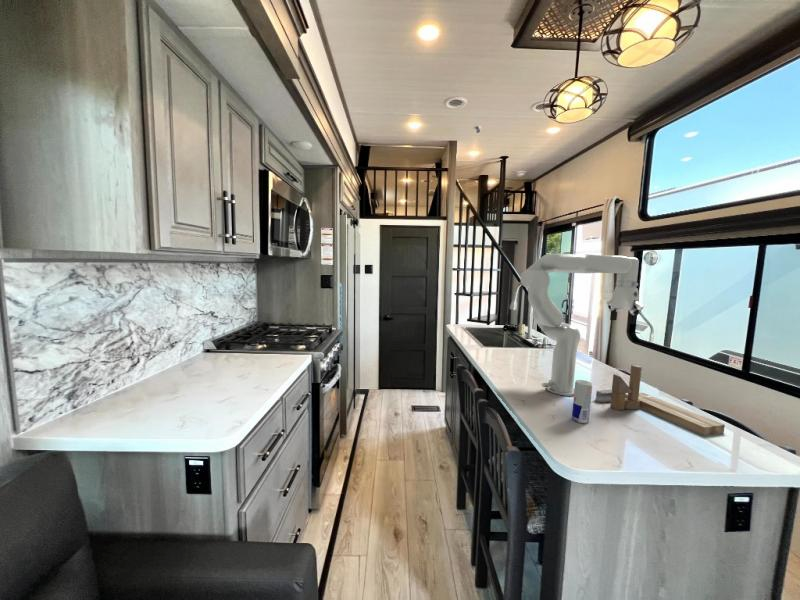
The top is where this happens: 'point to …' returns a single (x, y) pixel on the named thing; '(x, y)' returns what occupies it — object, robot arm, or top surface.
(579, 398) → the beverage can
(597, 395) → the metal block
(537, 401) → the top surface
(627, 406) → the wooden bracket
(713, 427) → the light brown wooden board
